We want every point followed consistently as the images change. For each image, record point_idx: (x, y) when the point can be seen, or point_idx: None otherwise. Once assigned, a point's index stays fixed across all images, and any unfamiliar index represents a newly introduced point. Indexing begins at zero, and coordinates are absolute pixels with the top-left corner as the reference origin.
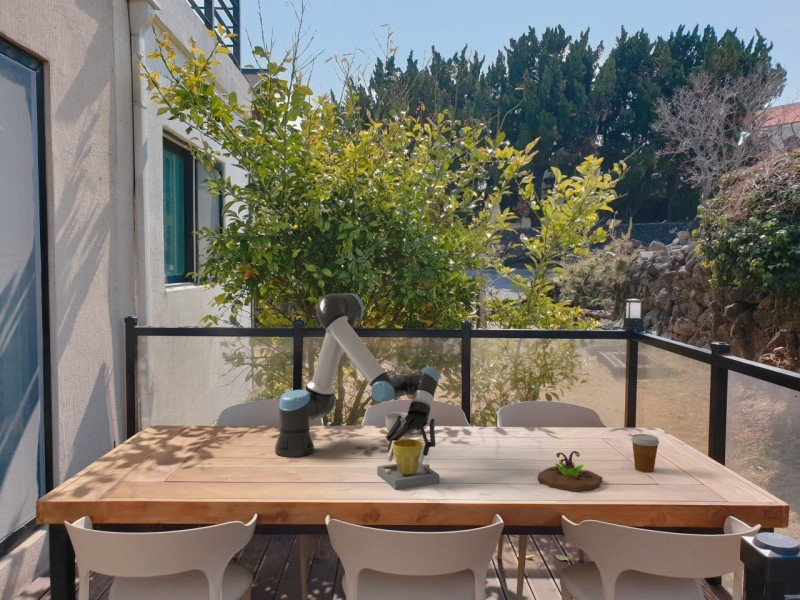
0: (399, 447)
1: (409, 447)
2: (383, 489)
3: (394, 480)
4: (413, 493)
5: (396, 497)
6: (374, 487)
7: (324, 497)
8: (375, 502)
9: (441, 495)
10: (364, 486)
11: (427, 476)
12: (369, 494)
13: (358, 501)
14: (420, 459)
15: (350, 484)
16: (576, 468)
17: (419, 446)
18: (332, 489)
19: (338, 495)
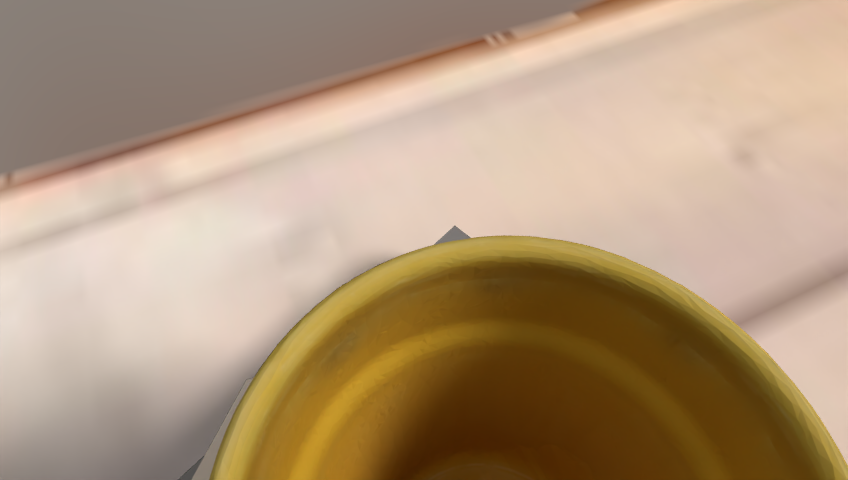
0: (555, 240)
1: (385, 263)
2: (532, 236)
3: (468, 238)
4: (293, 249)
5: (381, 149)
6: (613, 246)
7: (753, 21)
8: (463, 54)
9: (72, 291)
10: (688, 236)
11: (202, 458)
12: (564, 132)
13: (556, 37)
14: (240, 391)
15: (802, 232)
16: None
17: (232, 419)
18: (820, 119)
19: (712, 63)
